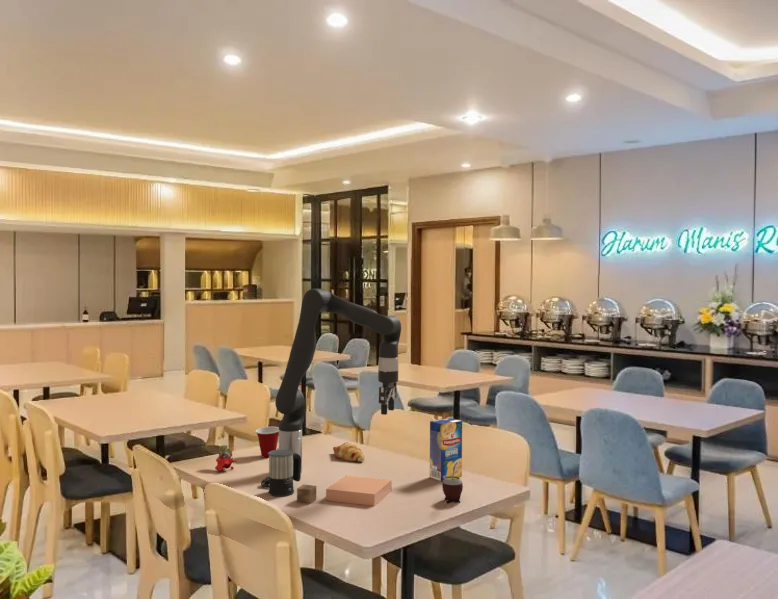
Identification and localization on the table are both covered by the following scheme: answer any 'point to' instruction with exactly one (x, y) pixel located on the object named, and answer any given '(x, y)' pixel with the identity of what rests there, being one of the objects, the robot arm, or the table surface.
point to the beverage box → (445, 448)
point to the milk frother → (282, 472)
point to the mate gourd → (452, 488)
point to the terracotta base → (359, 490)
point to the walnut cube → (306, 494)
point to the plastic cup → (267, 439)
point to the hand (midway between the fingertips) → (387, 412)
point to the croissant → (349, 452)
